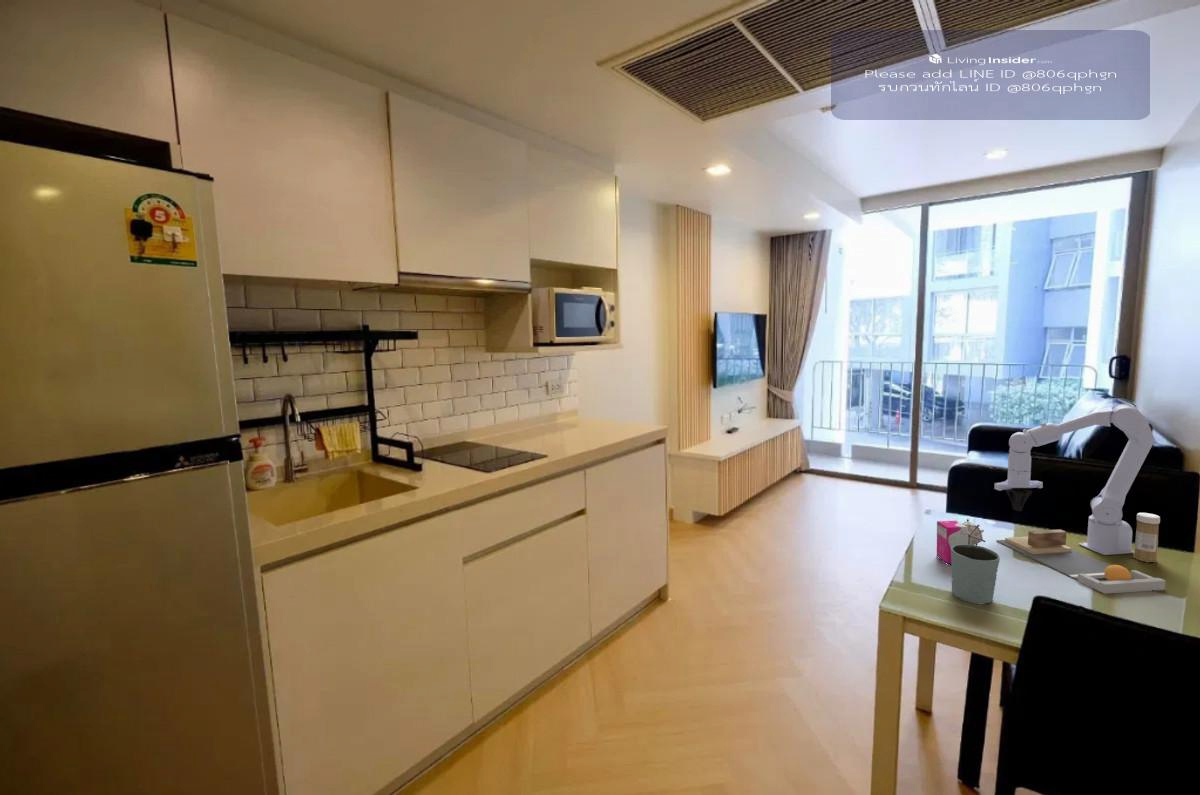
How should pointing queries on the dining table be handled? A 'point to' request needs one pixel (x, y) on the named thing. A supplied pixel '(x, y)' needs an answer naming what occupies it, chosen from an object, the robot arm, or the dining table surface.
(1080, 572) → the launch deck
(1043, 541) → the pusher bar
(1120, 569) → the ball
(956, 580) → the grey-green plant pot
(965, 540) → the supplement box
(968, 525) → the game die
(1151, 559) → the sprinkles bottle
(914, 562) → the dining table surface
